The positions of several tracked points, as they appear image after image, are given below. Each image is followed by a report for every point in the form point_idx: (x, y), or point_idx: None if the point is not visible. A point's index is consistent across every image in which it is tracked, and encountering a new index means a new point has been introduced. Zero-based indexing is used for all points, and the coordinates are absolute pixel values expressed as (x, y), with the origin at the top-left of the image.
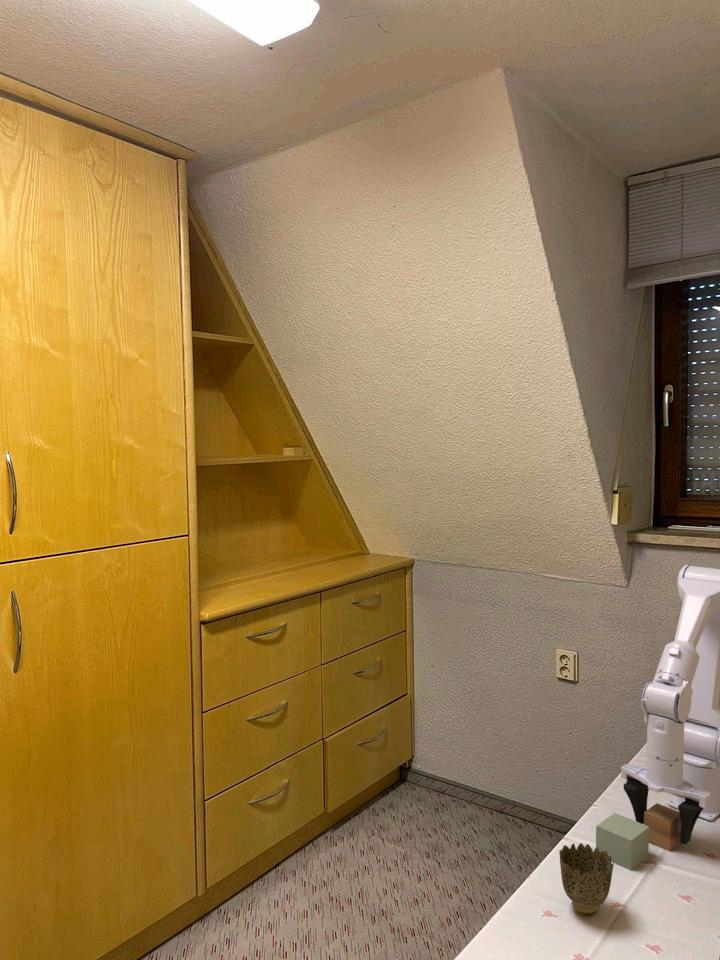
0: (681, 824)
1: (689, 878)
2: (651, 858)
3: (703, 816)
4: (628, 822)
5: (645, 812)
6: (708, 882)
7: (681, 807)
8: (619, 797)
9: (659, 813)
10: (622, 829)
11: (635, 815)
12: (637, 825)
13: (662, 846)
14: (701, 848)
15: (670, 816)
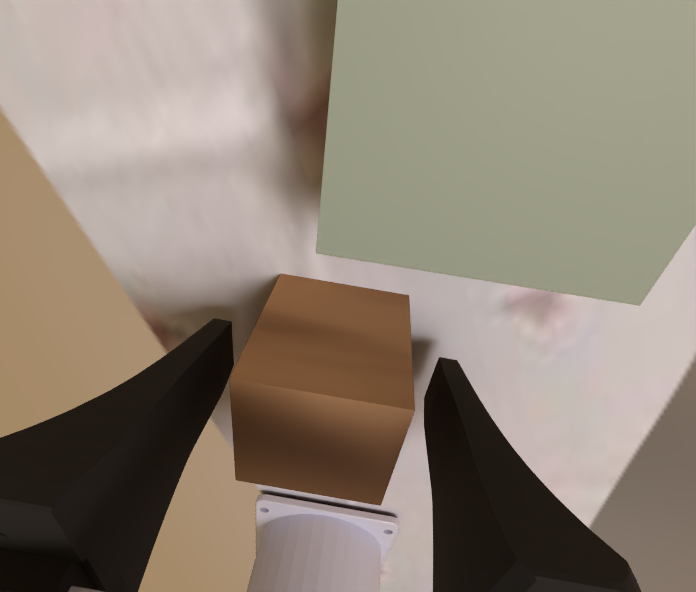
0: (167, 386)
1: (91, 88)
2: (322, 158)
3: (279, 503)
4: (494, 218)
5: (406, 411)
6: (20, 117)
7: (24, 495)
8: None
9: (327, 434)
10: (537, 5)
11: (473, 395)
12: (405, 212)
13: (313, 284)
14: None
15: (265, 433)
